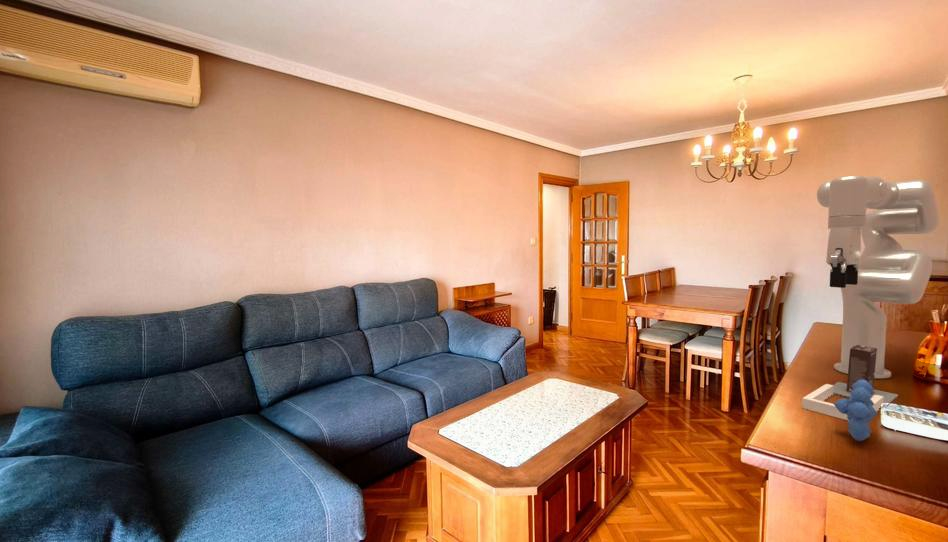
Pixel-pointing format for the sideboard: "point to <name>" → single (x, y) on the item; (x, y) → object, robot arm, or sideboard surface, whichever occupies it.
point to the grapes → (858, 409)
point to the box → (861, 365)
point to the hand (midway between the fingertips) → (843, 285)
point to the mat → (888, 397)
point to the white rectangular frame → (817, 403)
